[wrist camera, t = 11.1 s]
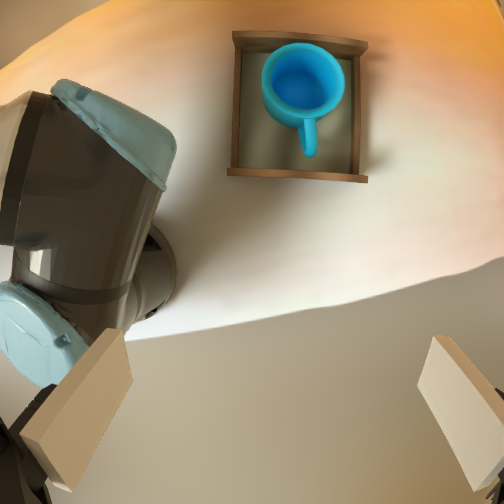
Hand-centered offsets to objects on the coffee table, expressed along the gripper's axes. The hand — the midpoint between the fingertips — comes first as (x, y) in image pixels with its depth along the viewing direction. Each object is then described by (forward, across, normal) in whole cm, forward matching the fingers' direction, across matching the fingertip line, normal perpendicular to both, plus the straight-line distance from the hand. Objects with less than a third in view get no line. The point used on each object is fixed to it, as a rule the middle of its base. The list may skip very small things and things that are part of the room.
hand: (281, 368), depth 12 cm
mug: (+28, +3, +15) cm, 32 cm away
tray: (+29, +3, +15) cm, 32 cm away
